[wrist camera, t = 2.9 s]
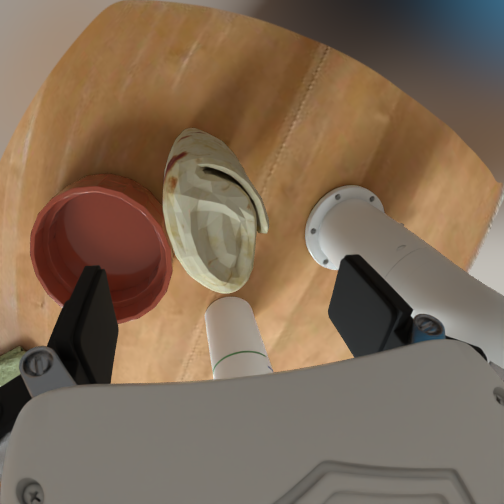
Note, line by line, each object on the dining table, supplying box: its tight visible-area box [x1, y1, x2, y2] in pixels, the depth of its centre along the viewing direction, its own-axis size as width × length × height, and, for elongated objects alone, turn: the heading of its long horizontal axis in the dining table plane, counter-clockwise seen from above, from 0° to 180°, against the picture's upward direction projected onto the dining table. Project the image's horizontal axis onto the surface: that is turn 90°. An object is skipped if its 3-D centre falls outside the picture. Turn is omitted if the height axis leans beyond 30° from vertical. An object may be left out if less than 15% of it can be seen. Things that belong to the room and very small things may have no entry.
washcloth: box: [0, 346, 26, 386], centre depth 40 cm, size 13×18×3 cm
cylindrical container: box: [205, 297, 273, 379], centre depth 33 cm, size 7×7×25 cm
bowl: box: [30, 174, 173, 324], centre depth 32 cm, size 17×17×6 cm
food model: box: [163, 128, 269, 293], centre depth 24 cm, size 10×7×20 cm
